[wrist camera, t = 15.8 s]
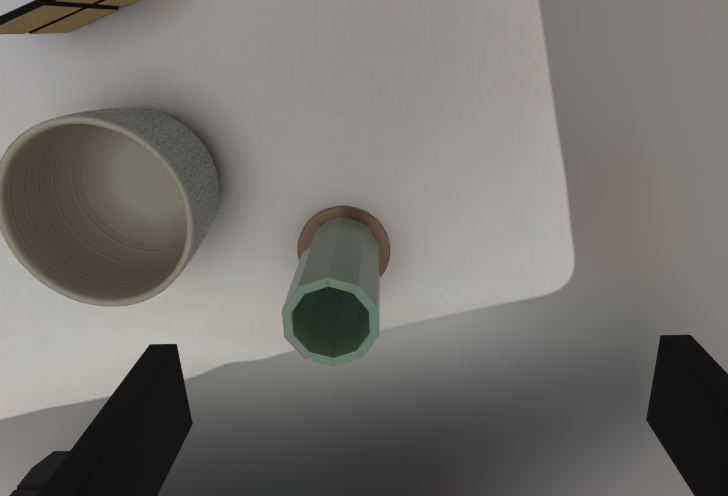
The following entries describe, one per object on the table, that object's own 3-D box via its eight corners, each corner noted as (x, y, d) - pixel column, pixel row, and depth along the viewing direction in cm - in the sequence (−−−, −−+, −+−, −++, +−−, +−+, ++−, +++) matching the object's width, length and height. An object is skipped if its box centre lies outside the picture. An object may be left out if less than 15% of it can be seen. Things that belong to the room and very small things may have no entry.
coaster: (388, 204, 45) (388, 206, 45) (390, 289, 48) (390, 292, 48) (294, 207, 46) (293, 209, 45) (302, 292, 48) (301, 294, 48)
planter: (204, 77, 42) (148, 93, 32) (255, 229, 46) (220, 286, 36) (54, 117, 43) (-45, 144, 33) (117, 260, 48) (46, 323, 38)
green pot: (378, 214, 45) (377, 276, 34) (380, 285, 47) (380, 365, 36) (304, 216, 45) (278, 278, 34) (309, 287, 48) (287, 367, 36)
